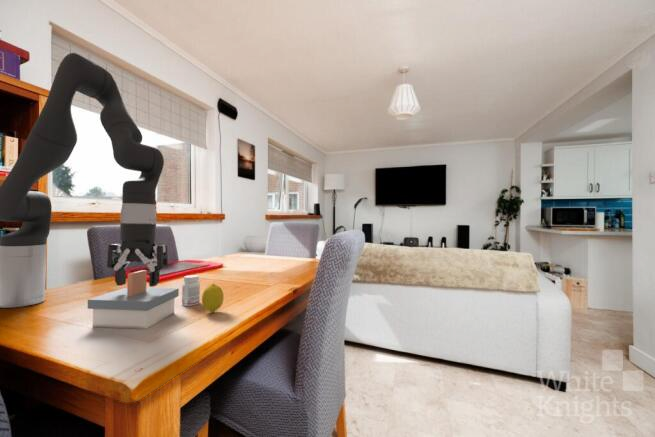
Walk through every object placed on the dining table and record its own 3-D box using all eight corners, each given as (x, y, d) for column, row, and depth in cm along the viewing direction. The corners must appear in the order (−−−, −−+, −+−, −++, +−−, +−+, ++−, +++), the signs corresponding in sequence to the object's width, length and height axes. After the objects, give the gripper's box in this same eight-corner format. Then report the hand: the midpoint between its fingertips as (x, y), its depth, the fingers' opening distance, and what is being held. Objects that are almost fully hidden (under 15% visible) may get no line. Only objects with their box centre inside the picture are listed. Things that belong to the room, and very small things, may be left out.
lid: (87, 308, 65) (88, 276, 65) (128, 294, 77) (128, 267, 77) (147, 310, 64) (148, 277, 64) (178, 296, 76) (179, 268, 76)
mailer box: (92, 326, 65) (93, 301, 65) (128, 311, 76) (128, 289, 76) (145, 328, 65) (146, 303, 65) (174, 313, 76) (174, 291, 76)
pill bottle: (202, 302, 86) (203, 275, 86) (193, 306, 82) (194, 278, 82) (188, 301, 87) (188, 274, 87) (178, 305, 82) (179, 277, 82)
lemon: (214, 308, 81) (215, 280, 81) (227, 311, 78) (228, 283, 78) (197, 313, 76) (197, 284, 76) (210, 317, 73) (210, 287, 73)
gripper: (99, 221, 67) (97, 288, 67) (156, 222, 67) (154, 290, 66) (123, 221, 75) (122, 281, 75) (174, 222, 74) (173, 282, 74)
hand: (137, 285), depth 71 cm, fingers open, 8 cm apart
